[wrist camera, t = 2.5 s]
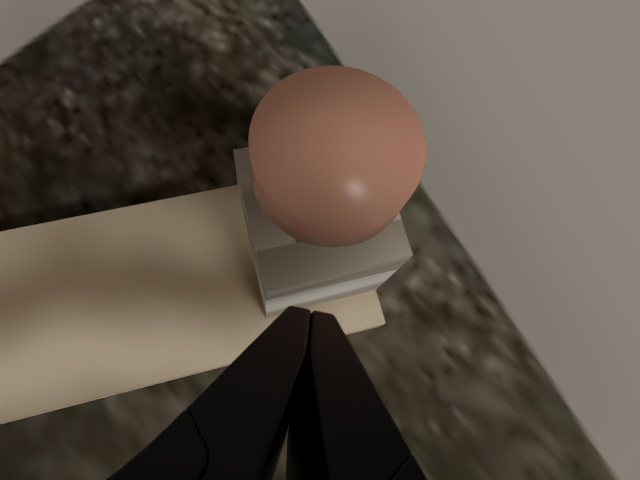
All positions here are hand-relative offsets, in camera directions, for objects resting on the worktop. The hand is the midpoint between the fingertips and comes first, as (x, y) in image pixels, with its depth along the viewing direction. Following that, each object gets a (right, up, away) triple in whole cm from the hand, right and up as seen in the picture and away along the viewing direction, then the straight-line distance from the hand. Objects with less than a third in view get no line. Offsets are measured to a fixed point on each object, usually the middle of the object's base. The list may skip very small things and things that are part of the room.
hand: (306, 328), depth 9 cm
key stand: (-9, -1, +13) cm, 16 cm away
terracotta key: (0, +3, +8) cm, 8 cm away
